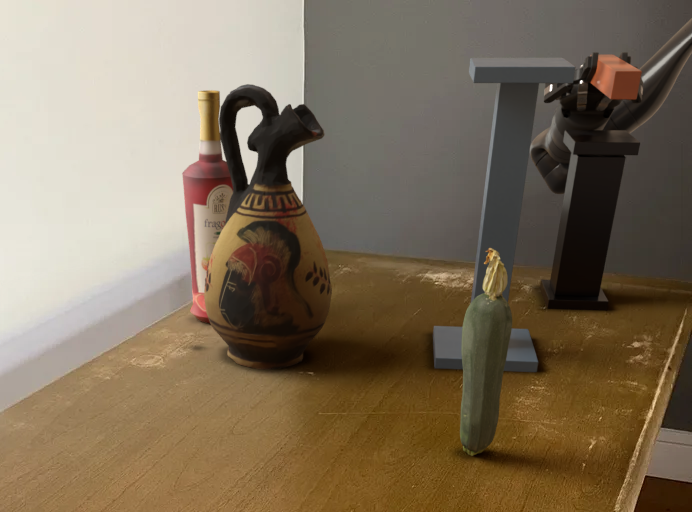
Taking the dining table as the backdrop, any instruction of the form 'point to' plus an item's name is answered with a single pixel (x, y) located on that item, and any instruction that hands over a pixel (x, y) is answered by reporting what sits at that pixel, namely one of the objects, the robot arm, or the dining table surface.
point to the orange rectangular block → (616, 78)
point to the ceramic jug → (267, 242)
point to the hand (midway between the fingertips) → (609, 60)
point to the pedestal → (587, 218)
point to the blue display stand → (504, 188)
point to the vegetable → (484, 358)
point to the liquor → (206, 197)
